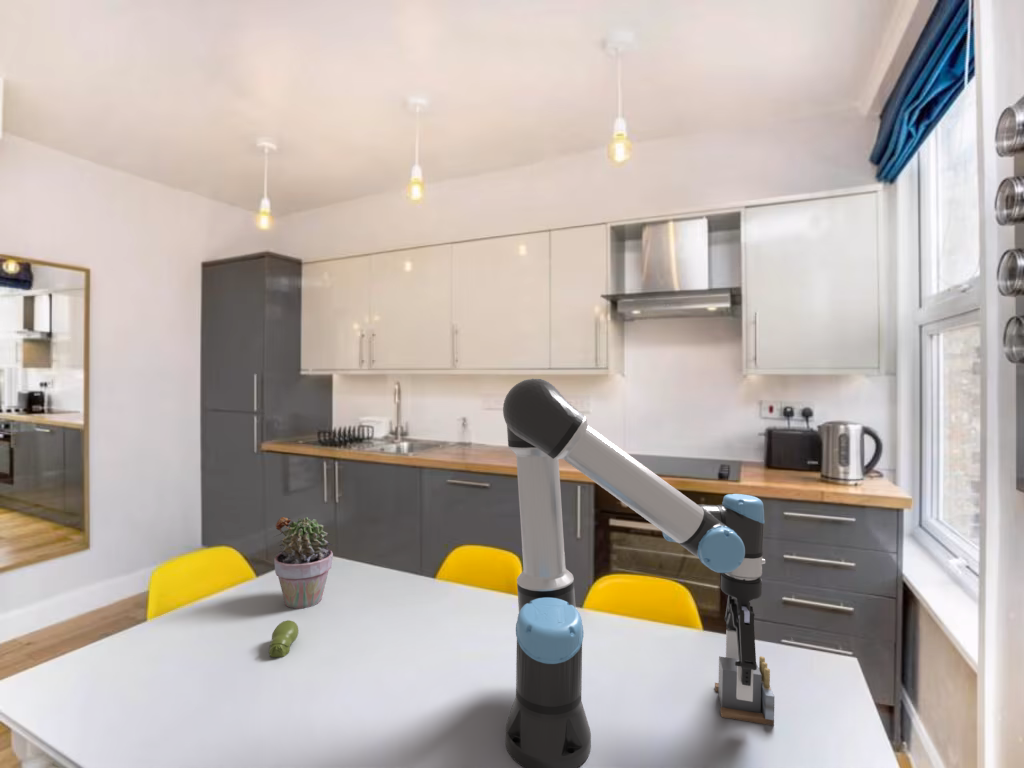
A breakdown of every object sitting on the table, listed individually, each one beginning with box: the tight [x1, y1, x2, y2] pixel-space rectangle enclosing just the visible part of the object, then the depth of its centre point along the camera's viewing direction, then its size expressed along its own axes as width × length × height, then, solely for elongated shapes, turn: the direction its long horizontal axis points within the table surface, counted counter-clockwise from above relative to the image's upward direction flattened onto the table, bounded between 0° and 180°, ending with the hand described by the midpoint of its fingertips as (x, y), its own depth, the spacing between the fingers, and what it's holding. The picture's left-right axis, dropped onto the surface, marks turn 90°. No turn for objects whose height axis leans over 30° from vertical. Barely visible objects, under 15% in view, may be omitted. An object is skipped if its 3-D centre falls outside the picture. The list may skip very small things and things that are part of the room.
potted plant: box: [273, 516, 337, 610], centre depth 149 cm, size 18×20×25 cm
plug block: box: [717, 656, 762, 714], centre depth 103 cm, size 5×7×8 cm
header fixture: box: [714, 655, 775, 726], centre depth 103 cm, size 10×9×9 cm
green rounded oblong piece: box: [268, 619, 299, 658], centre depth 123 cm, size 6×5×10 cm
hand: (738, 679), depth 103 cm, fingers open, 13 cm apart
